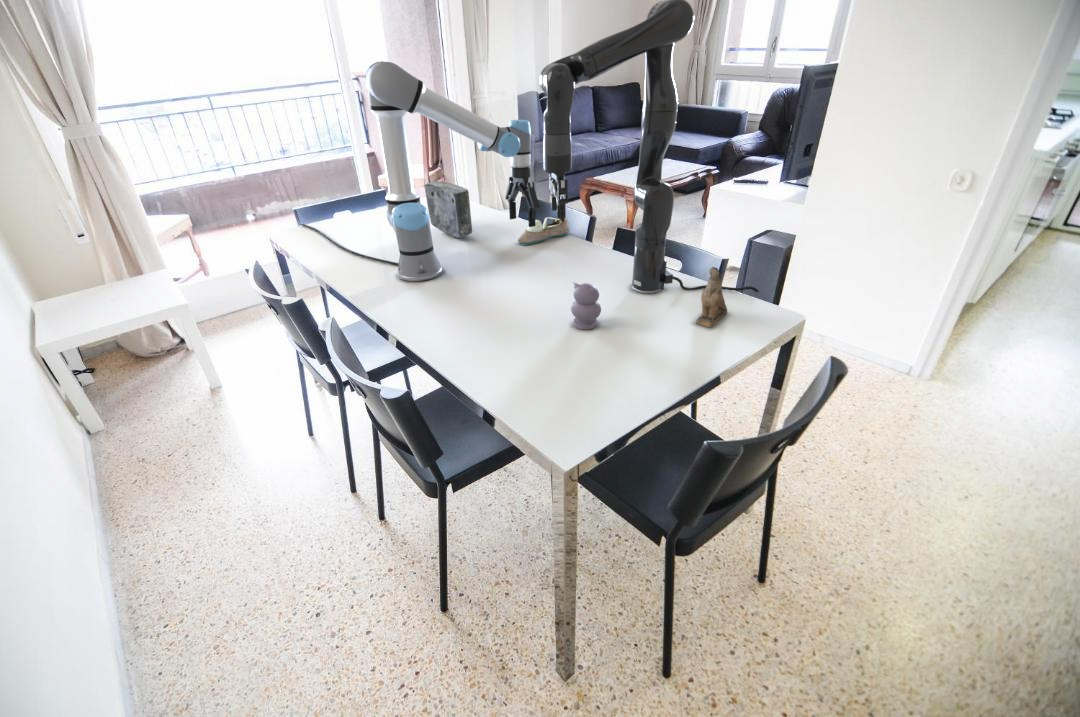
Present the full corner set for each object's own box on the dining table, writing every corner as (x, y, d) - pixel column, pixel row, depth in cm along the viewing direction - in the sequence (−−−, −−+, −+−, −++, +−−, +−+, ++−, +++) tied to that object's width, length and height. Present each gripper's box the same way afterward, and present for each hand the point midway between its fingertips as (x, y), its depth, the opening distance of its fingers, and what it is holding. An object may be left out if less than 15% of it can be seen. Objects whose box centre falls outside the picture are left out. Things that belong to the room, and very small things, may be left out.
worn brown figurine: (709, 335, 136) (713, 280, 124) (691, 329, 139) (693, 274, 128) (730, 313, 142) (736, 258, 130) (712, 307, 145) (716, 253, 133)
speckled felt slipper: (512, 242, 202) (511, 222, 198) (559, 230, 214) (559, 210, 210) (524, 247, 196) (523, 227, 192) (572, 234, 208) (572, 214, 204)
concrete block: (477, 239, 207) (472, 190, 196) (458, 244, 202) (452, 193, 192) (448, 225, 225) (442, 179, 215) (430, 229, 221) (423, 182, 210)
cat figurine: (606, 323, 139) (608, 283, 132) (589, 334, 134) (589, 293, 128) (582, 314, 144) (583, 276, 138) (564, 324, 139) (564, 285, 133)
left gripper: (548, 169, 178) (548, 228, 189) (511, 160, 196) (513, 214, 207) (531, 172, 175) (532, 231, 186) (495, 162, 192) (497, 217, 203)
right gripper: (577, 155, 124) (577, 220, 133) (566, 147, 136) (566, 206, 145) (548, 157, 123) (549, 222, 132) (539, 148, 135) (541, 208, 144)
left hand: (522, 222), depth 196 cm, fingers open, 13 cm apart
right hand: (558, 214), depth 138 cm, fingers open, 8 cm apart
